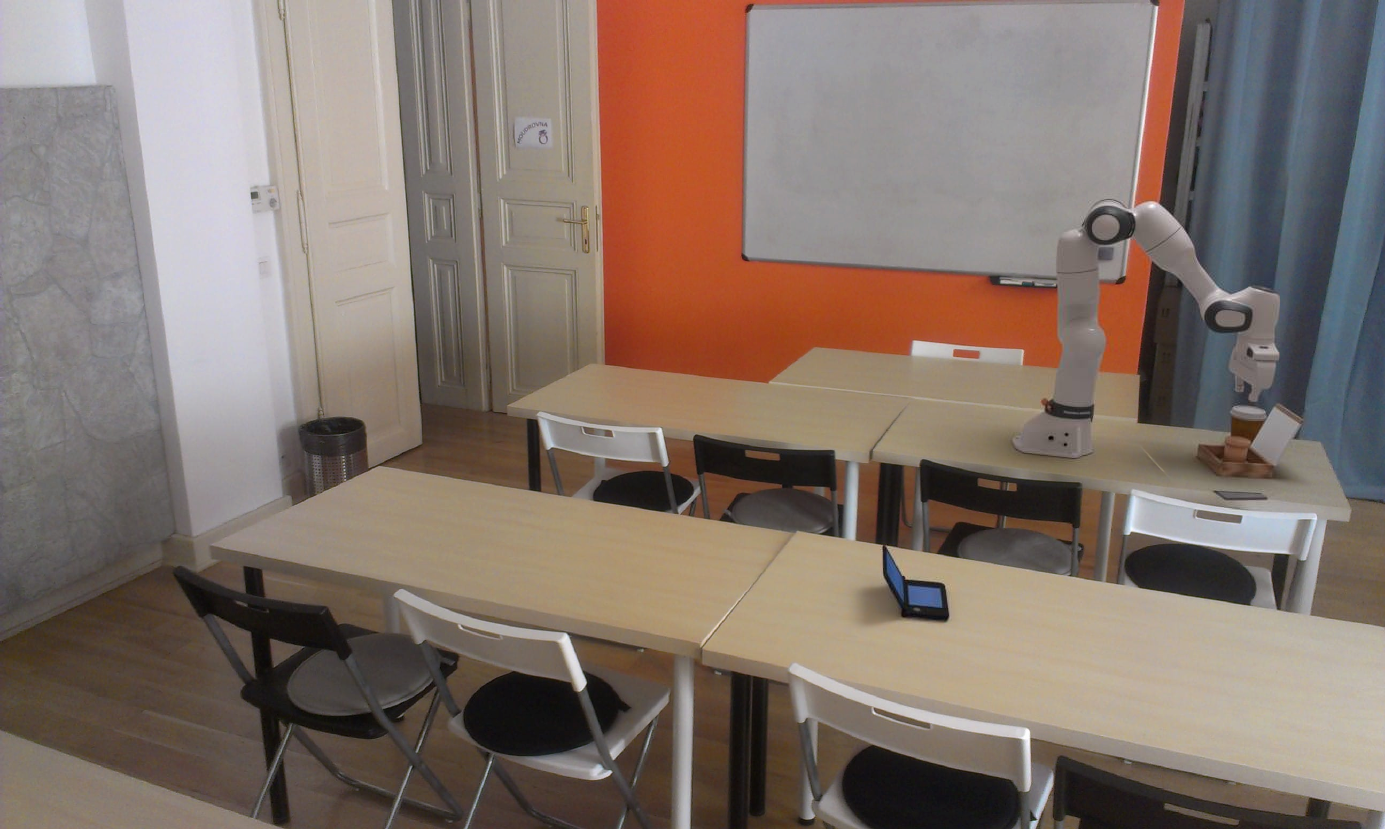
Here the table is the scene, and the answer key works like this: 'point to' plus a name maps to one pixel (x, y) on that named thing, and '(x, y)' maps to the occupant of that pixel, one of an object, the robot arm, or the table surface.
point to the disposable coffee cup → (1246, 421)
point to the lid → (1276, 434)
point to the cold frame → (1234, 463)
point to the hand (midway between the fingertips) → (1245, 396)
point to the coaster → (1241, 495)
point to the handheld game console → (915, 593)
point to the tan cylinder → (1235, 449)
